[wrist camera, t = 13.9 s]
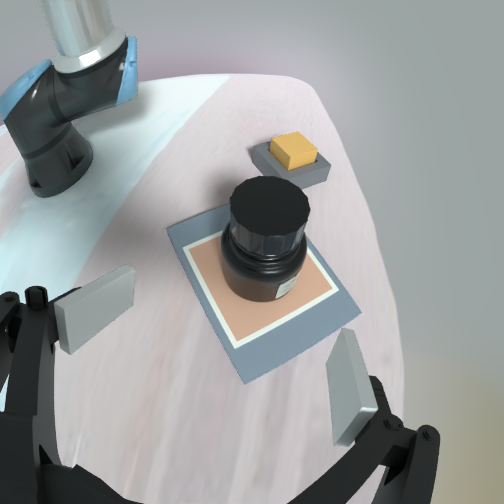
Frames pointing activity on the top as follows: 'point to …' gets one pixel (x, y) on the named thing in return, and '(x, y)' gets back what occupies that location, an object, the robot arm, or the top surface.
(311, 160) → the button
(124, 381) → the top surface
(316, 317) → the picture board
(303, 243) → the ink bottle
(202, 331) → the top surface
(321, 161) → the button housing
